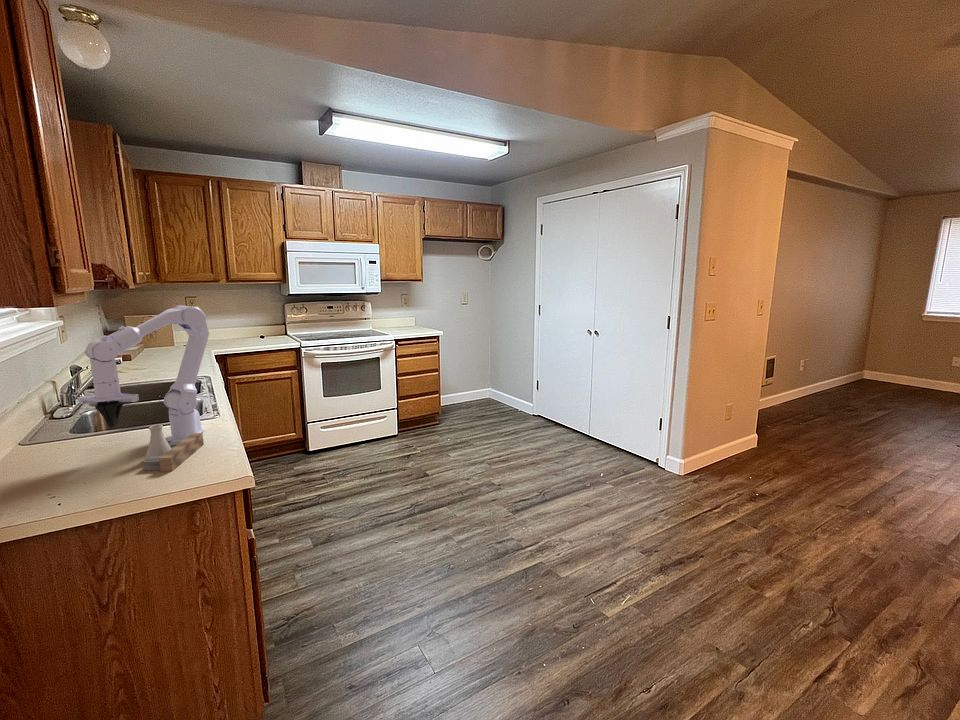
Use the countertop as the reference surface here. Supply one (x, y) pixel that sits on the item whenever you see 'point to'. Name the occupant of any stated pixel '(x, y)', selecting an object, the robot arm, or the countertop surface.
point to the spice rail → (175, 453)
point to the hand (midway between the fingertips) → (113, 425)
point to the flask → (157, 442)
